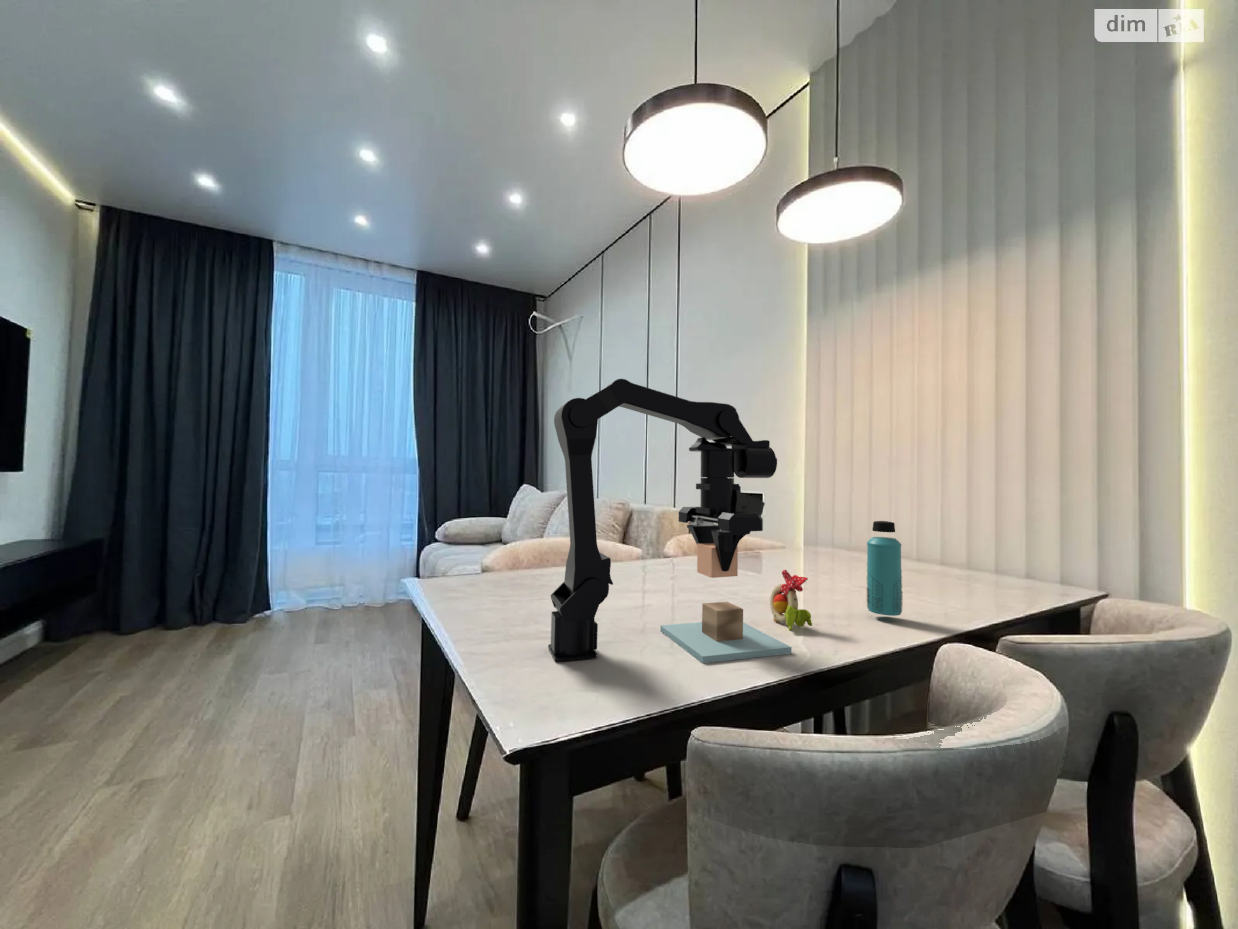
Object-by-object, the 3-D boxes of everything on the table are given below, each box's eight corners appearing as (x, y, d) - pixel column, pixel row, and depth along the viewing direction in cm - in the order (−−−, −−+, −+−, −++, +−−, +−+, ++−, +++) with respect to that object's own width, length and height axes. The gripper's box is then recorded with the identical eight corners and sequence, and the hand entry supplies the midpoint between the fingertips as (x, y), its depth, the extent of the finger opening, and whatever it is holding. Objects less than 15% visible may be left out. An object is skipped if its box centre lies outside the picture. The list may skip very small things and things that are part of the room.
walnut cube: (716, 641, 80) (717, 611, 80) (701, 632, 85) (702, 603, 85) (742, 639, 81) (743, 609, 82) (727, 630, 86) (727, 601, 86)
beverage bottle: (909, 624, 96) (909, 522, 97) (875, 623, 96) (876, 522, 97) (891, 614, 103) (891, 520, 103) (859, 614, 103) (860, 519, 103)
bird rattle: (764, 635, 94) (796, 628, 86) (750, 577, 98) (780, 566, 91) (789, 632, 96) (823, 625, 89) (775, 576, 101) (805, 565, 93)
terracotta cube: (711, 577, 81) (711, 547, 81) (697, 572, 85) (697, 543, 85) (737, 576, 82) (737, 546, 82) (722, 570, 87) (722, 542, 87)
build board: (702, 663, 73) (702, 656, 73) (660, 630, 88) (660, 625, 88) (791, 653, 78) (791, 647, 78) (737, 624, 93) (737, 619, 93)
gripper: (791, 478, 78) (791, 576, 78) (728, 478, 96) (728, 557, 95) (730, 478, 74) (730, 580, 74) (677, 477, 92) (677, 560, 92)
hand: (717, 568), depth 84 cm, fingers closed on terracotta cube, 5 cm apart
